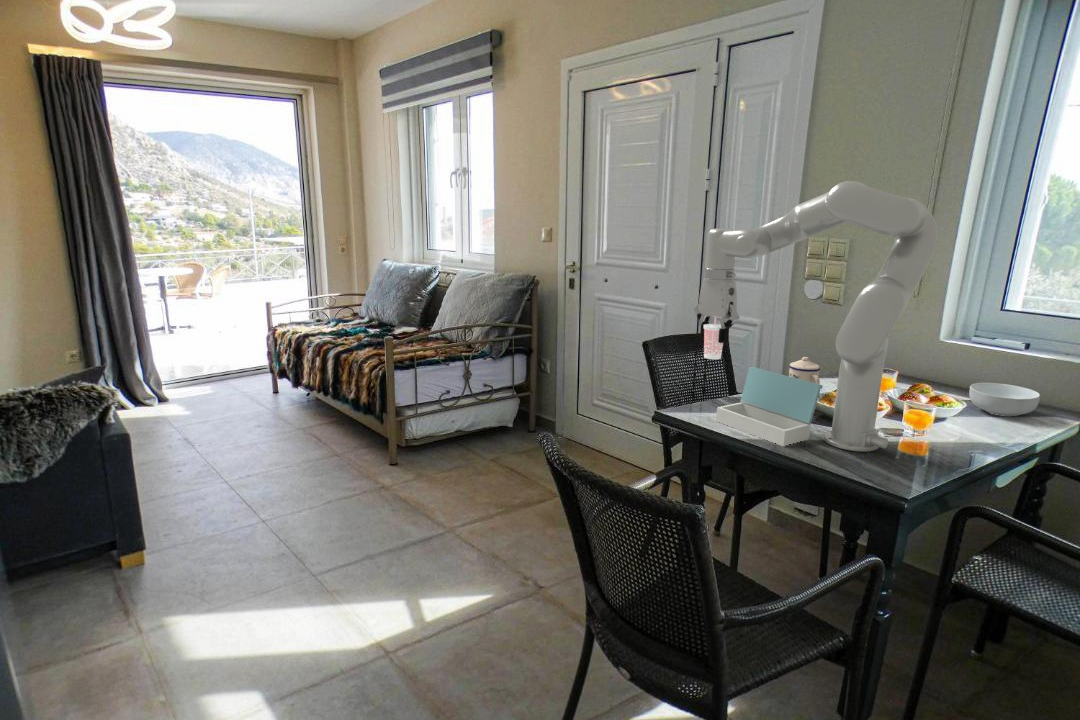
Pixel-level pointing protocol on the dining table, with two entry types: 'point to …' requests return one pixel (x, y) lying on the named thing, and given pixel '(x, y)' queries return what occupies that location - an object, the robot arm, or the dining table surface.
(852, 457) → the dining table surface
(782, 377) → the cover
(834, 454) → the dining table surface
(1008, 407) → the cereal bowl
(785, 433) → the hinged pencil box
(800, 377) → the teacup with lid
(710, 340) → the beverage cup
